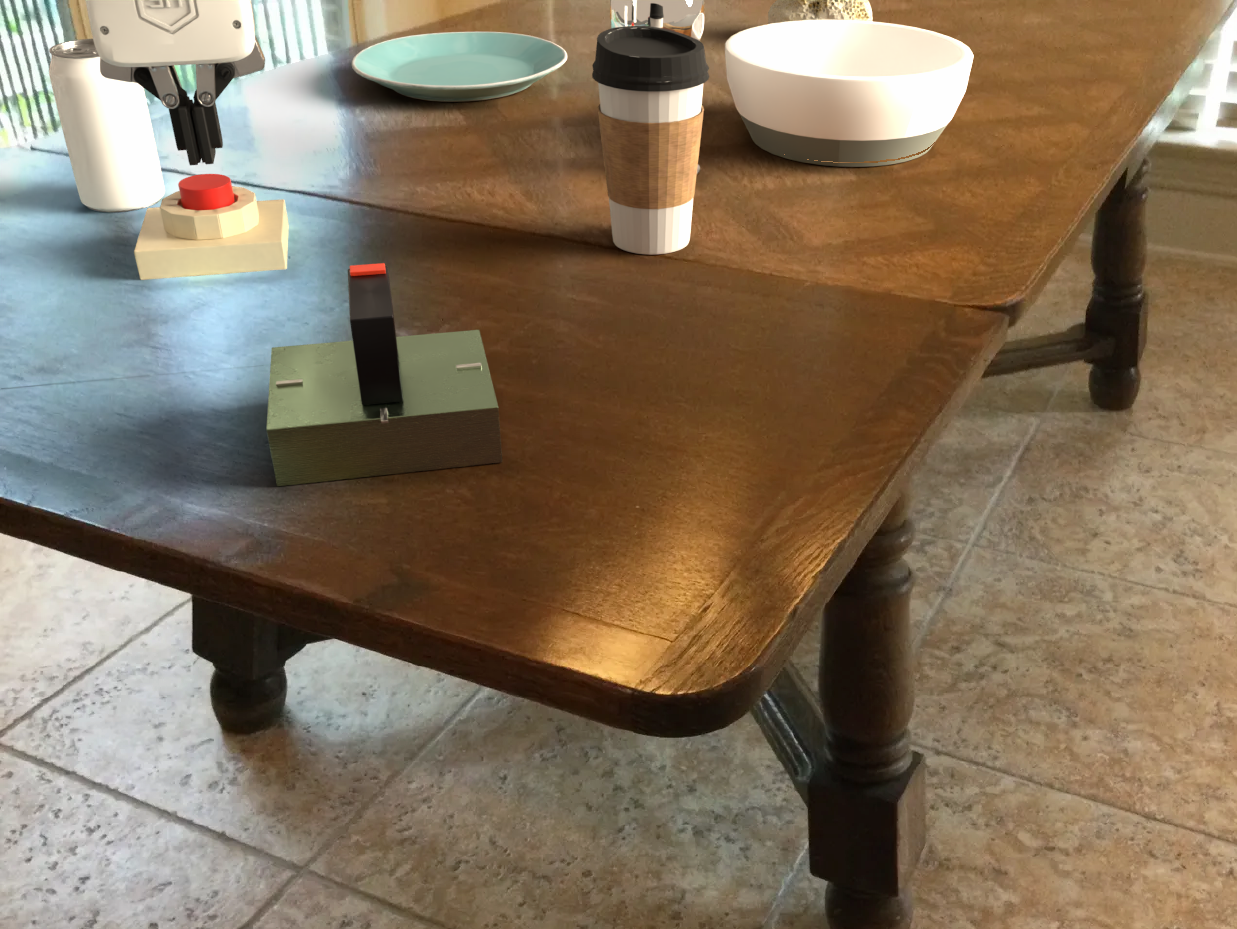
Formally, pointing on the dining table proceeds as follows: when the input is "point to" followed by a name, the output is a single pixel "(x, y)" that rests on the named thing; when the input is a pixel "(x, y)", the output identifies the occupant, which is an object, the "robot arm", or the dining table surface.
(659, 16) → the wineglass
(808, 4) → the decorative item
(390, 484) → the dining table surface
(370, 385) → the black rectangular case
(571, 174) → the dining table surface
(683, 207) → the coffee cup
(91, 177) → the can
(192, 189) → the release button
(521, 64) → the plate
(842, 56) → the bowl
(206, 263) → the box
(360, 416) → the green lever base box
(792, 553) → the dining table surface
